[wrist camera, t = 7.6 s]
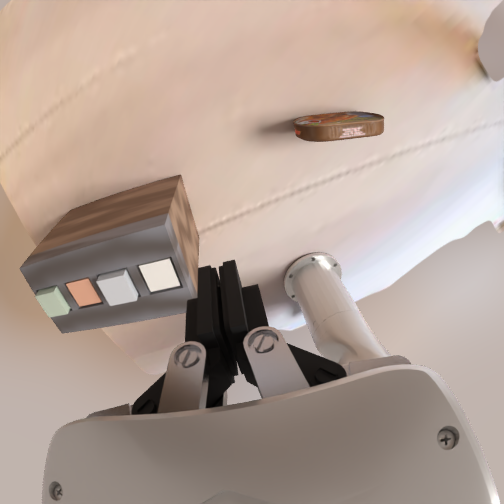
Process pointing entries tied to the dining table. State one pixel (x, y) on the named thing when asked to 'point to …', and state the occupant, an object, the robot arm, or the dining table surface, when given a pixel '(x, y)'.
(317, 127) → the tin
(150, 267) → the cream key
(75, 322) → the console
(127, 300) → the grey key
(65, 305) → the sage key
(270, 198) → the dining table surface
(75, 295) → the terracotta key
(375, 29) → the dining table surface
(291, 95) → the dining table surface
